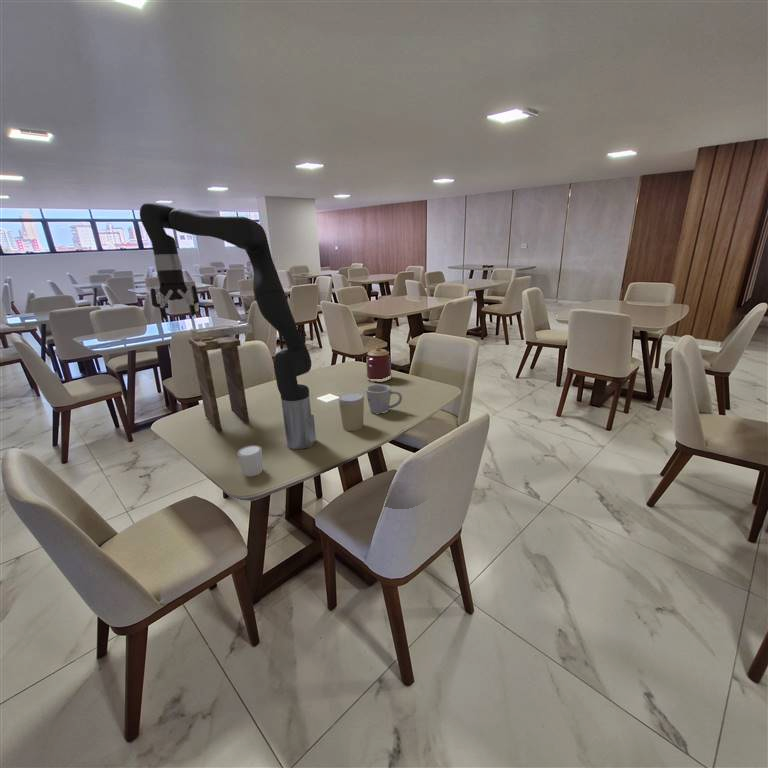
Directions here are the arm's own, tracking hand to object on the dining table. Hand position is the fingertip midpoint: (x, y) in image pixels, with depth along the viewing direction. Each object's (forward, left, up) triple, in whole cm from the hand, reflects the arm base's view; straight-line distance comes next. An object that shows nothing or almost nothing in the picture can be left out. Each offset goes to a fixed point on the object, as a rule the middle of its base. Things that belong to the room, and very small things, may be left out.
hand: (179, 317), depth 131 cm
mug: (-68, -23, -43) cm, 83 cm away
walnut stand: (-5, -10, -43) cm, 44 cm away
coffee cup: (-58, -7, -43) cm, 72 cm away
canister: (-58, -67, -43) cm, 98 cm away
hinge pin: (-5, -17, -10) cm, 20 cm away
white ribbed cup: (-35, +27, -43) cm, 62 cm away
